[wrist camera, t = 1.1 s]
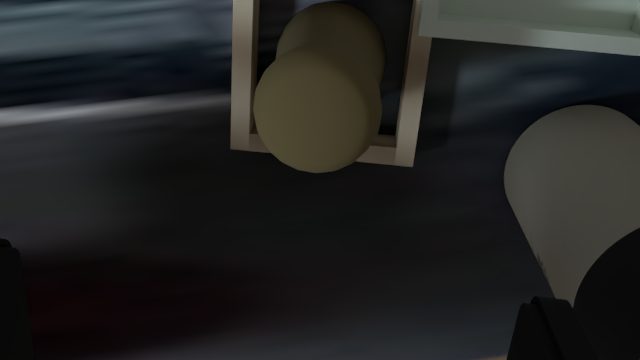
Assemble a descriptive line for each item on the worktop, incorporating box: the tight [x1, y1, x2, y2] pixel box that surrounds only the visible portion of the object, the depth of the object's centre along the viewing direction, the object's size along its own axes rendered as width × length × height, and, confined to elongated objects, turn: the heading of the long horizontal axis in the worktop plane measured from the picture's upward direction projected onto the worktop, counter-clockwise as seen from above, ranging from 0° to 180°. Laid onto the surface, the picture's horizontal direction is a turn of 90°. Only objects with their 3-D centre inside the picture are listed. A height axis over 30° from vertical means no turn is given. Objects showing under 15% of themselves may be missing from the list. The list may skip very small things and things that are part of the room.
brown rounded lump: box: [253, 2, 387, 173], centre depth 28 cm, size 6×6×11 cm
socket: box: [230, 0, 432, 167], centre depth 32 cm, size 10×10×2 cm
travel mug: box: [504, 105, 640, 360], centre depth 26 cm, size 8×8×18 cm
